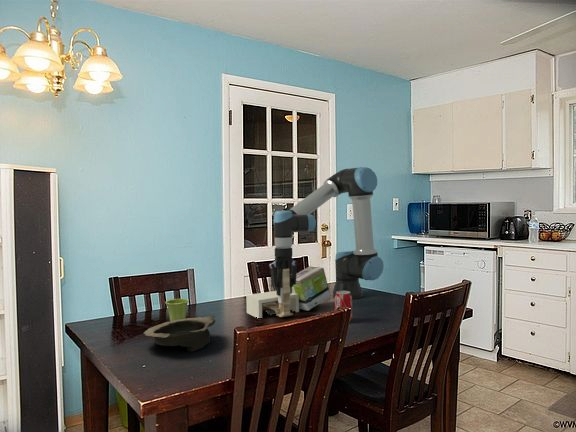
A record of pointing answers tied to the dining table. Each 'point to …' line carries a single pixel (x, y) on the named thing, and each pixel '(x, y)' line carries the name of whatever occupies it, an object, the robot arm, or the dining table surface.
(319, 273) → the tea box
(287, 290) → the beech scraper
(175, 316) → the plant pot
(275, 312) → the steel block
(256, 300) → the cream u-shaped bracket
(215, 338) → the dining table surface
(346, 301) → the soda can
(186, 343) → the stone bowl
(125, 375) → the dining table surface
